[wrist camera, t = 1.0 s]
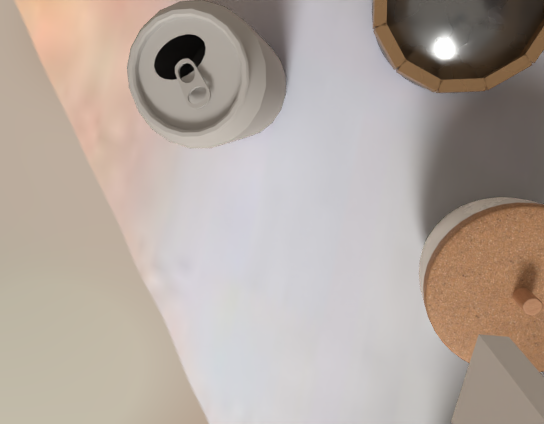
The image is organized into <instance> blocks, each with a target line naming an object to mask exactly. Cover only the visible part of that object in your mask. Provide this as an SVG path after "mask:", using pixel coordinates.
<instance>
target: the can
mask: <svg viewBox="0 0 544 424" xmlns="http://www.w3.org/2000/svg"><path fill="white" fill-rule="evenodd" d="M127 72H128V82H129V89H130V91H131V94H132V96H133V99H134V101H135V104H136V106H137V109H138V111H139V113H140V114H141V116H142V117H143V118H144V119H145V121H146V122H147V123H148V125H149V126H150V127H151V128H152V130H154V131H155V132H156V133H158V134H159V135H161V136H162V137H164V138H165V139H166V140H168V141H169V142H171V143H174V144H178V145H181V146H184V147H187V148H213V147H216V146H220V145H223V144H226V143H230V142H233V141H236V140H240V139H243V138H246V137H249V136H252V135H254V134H257V133H260V132H261V131H263V130H264V129H265V128H266V127H268V126H269V125H270V124H271V123H273V121H274V120H275V118H276V117H277V115H278V114H279V112H280V111H281V109H282V105H283V102H284V98H285V95H286V76H285V73H284V70H283V67H282V64H281V61H280V59H279V58H278V56H277V55H276V54H275V52H274V51H273V50H272V48H271V47H270V46H269V45H268V44H267V43H266V42H265V41H264V40H263V39H262V38H261V37H260V36H259V35H258V34H257V33H256V32H255V31H254V30H253V29H252V28H251V27H250V26H249V25H248V24H247V23H246V22H245V21H244V20H243V19H241V18H240V17H238V16H237V15H236V14H234V13H233V12H231V11H230V10H229V9H227V8H226V7H224V6H221V5H218V4H214V3H211V2H207V1H204V0H196V1H181V2H178V3H176V4H173V5H171V6H169V7H167V8H164V9H162V10H160V11H159V12H158V13H157V14H156V15H155V16H153V17H152V18H151V19H150V20H149V21H148V22H147V23H146V24H145V25H144V26H143V28H142V29H141V30H140V31H139V33H138V35H137V37H136V39H135V41H134V43H133V44H132V46H131V50H130V55H129V60H128V65H127Z"/></svg>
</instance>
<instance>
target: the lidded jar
mask: <svg viewBox="0 0 544 424" xmlns="http://www.w3.org/2000/svg"><path fill="white" fill-rule="evenodd" d="M419 282H420V290H421V293H422V297H423V301H424V304H425V307H426V311H427V315H428V317H429V320H430V322H431V324H432V326H433V328H434V330H435V332H436V333H437V335H438V336H439V338H440V339H441V340H442V342H443V343H444V344H445V345H446V346H447V347H448V348H449V349H450V350H451V351H452V352H453V353H455V354H456V355H457V356H459V357H460V358H461V359H463V360H465V361H467V362H468V363H470V360H471V357H472V354H473V351H474V348H475V344H476V341H477V338H478V335H479V334H481V335H493V336H504V337H509V338H510V339H511V340H512V341H513V342H514V343H515V345H516V346H517V347H518V348H519V349H520V350H521V351H522V353H523V354H524V355H525V356H526V357H527V358H528V360H529V361H530V362H531V363H532V364H533V365H534V366H535V368H536V369H537V370H538V371H539V372H543V371H544V205H543V204H540V203H537V202H534V201H530V200H525V199H519V198H512V197H496V198H488V199H481V200H477V201H474V202H470V203H468V204H466V205H463V206H461V207H459V208H457V209H456V210H454V211H452V212H451V213H449V214H448V215H447V216H446V217H444V218H443V219H442V220H441V221H440V222H439V223H438V224H437V225H436V226H435V227H434V229H433V230H432V231H431V233H430V235H429V236H428V238H427V240H426V242H425V244H424V246H423V249H422V253H421V257H420V263H419Z"/></svg>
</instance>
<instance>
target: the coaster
mask: <svg viewBox="0 0 544 424" xmlns="http://www.w3.org/2000/svg"><path fill="white" fill-rule="evenodd" d="M372 21H373V29H374V34H375V36H376V39H377V42H378V44H379V47H380V49H381V51H382V53H383V55H384V56H385V58H386V59H387V61H388V62H389V63H390V65H391V66H392V67H393V69H395V70H396V72H398V73H399V74H400V75H401V76H403V77H404V78H405V79H407V80H409V81H410V82H412V83H414V84H416V85H418V86H420V87H422V88H425V89H428V90H430V91H432V92H436V93H457V92H480V91H485V90H489V89H491V88H493V87H495V86H496V85H498V84H500V83H502V82H503V81H505V80H507V79H509V78H510V77H512V76H514V75H516V74H517V73H519V72H521V71H523V70H524V69H526V68H528V67H530V66H531V65H532V64H531V63H535V61H536V60H537V59H538V57H539V56H540V54H541V53H542V51H543V50H544V0H373V3H372Z"/></svg>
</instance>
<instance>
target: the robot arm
mask: <svg viewBox="0 0 544 424" xmlns="http://www.w3.org/2000/svg"><path fill="white" fill-rule="evenodd" d="M451 423H452V424H544V377H543V376H542V375H541V373H540V372H539V371H538V370H537V369H536V368H535V366H534V365H533V364H532V363H531V362H530V361H529V360H528V358H527V357H526V356H525V355H524V354H523V353H522V351H521V350H520V349H519V348H518V347H517V346H516V345H515V343H514V342H513V341H512V340H511V339H510V338H509V337H504V336H493V335H481V334H479V335H478V338H477V341H476V344H475V348H474V351H473V354H472V357H471V360H470V363H469V366H468V370H467V373H466V376H465V379H464V382H463V385H462V388H461V392H460V395H459V398H458V401H457V404H456V407H455V410H454V414H453V417H452V420H451Z"/></svg>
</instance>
